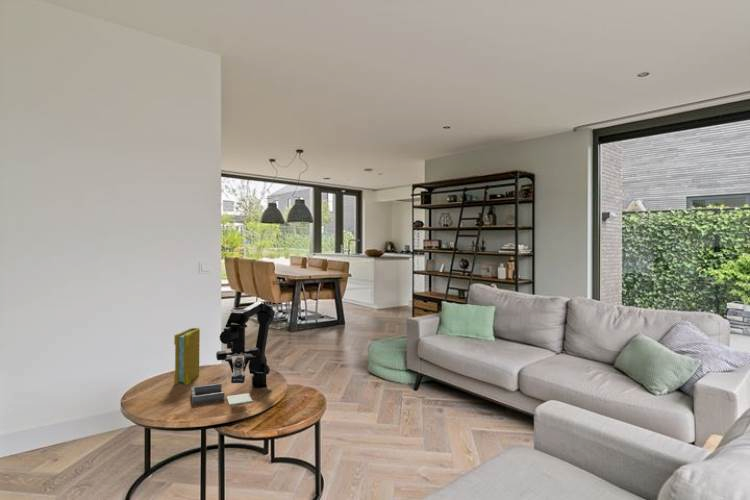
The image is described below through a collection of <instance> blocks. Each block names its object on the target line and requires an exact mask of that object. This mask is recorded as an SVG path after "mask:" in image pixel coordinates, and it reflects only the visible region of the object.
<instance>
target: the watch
mask: <svg viewBox="0 0 750 500" xmlns="http://www.w3.org/2000/svg"><path fill="white" fill-rule="evenodd" d="M244 366H245V364H244V358H243V357H239V356H236V358H235V360H234V361H233V373H231V374H232V375H231V378H230V379H231V380H230V381H231V382H230V383H231V384H244V383H245V381H246V373H245V372H243V367H244ZM242 372H243V373H242Z"/></svg>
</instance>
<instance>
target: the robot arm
mask: <svg viewBox="0 0 750 500" xmlns="http://www.w3.org/2000/svg"><path fill="white" fill-rule="evenodd" d="M254 315H256V318H257V319H256V321H257V322H258V331H257V336H256V342H255V343H256V344H255V347H249V350H246V328H248V325H247V324H246V323H248V322H249V320H250V318H251V317H253V316H254ZM275 315H276V312H275V310H274V309H273V307H271V306H269V305H267V304H266V302H264V301H254V303H253V304H251V305H249V306H247V307H245V308H243V309H238V310H233V311H231V312H230V314H229V316H228V319H227V322H226V323H225V326H224V328H223V331H222V332H221V333H220V334H219V341H220V342H221V344H224V345H226V349H227V350H230V352H227V350H220V351H218V350H217V352H216V354H215V357H216V360H217V361H225V362H227V363H228V365H229V367H230V371H231V374H233V373H234V368H233V363H234V361H233V358H232V357H239V356H243V362H244V364H245V366H244V367H243V369H242V372H243V373H245V371H246V369H247V366H248V370H249V374H250V375H252V376H251V386H252V387H253V388H254V389H256V388H263V387H268V384H267V375H269V373H270V370H271V368H270V366H268V363H267V362H268V360H267V357H266V354H265V353H266V347H267V341H268V334H269V330H270V329H269V328H270V325H271V324H272V323H273V321H274V318H275Z"/></svg>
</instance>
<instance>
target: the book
mask: <svg viewBox="0 0 750 500" xmlns="http://www.w3.org/2000/svg"><path fill="white" fill-rule="evenodd" d="M200 332H201V330H200V328H199V327H192V328H187V329H186V330H183V331H181V332H179V333H176V334H174V343H173V344H174V345H175V346H174V347H175V349H174V351H175V355H174V357H175V358H174V362H175V363H174V367H175V368H174V370H175V371H174V375H173V378H174V379H173V384H174V385H179V384H180V383H183V385H189V384H190V383H192V381H193V380H194V379H195V378H197V377H198V376H199V375H200V341H201V340H200V338H201V337H200V335H201V334H200Z"/></svg>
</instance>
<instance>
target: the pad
mask: <svg viewBox="0 0 750 500" xmlns="http://www.w3.org/2000/svg"><path fill="white" fill-rule="evenodd" d="M226 399H227V402H228V406H235V405H243V404H248V403H253V399H252V396H251V395H250V393H249V392H248V393H240V394H234V395H227V396H226Z"/></svg>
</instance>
